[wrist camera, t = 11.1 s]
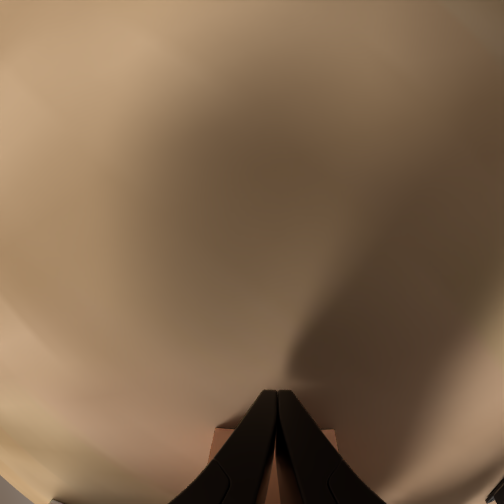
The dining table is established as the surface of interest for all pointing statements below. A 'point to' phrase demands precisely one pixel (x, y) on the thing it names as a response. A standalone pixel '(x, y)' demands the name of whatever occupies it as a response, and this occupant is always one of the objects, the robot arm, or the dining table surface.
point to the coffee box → (55, 502)
